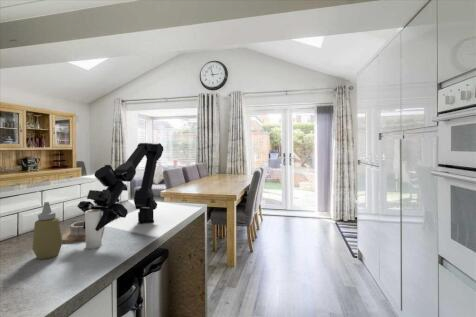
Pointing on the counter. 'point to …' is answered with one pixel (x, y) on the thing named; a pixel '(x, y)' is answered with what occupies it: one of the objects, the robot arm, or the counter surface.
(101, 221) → the robot arm
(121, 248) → the counter surface
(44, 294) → the counter surface
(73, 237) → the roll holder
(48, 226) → the squeeze bottle
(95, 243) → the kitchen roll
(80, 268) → the counter surface
